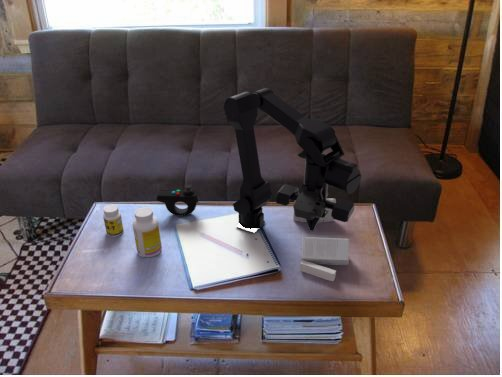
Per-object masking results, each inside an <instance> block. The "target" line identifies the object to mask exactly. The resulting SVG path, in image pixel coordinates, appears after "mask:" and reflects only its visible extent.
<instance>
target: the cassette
mask: <svg viewBox="0 0 502 377" xmlns="http://www.w3.org/2000/svg"><path fill="white" fill-rule="evenodd" d="M327 199H330V200H331V202H333V203H336V202H337V200H336V198H332V197H331V198H330V197H329V198H328V197H327ZM294 203H295V201H294V202H293V204H294ZM331 213H332V211H329V212H328V213H327V215H326V216H325V217H324V218H320V219H319V221H318V223H328V222H330V223H331V222H334V221H335V219H333V217H332V216H331ZM292 220H293V222H300V223H307V220H306V219H304V218H301V217H296V216H295V214H294V213H293V219H292Z"/></svg>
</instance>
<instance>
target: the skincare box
mask: <svg viewBox="0 0 502 377" xmlns="http://www.w3.org/2000/svg"><path fill="white" fill-rule="evenodd" d="M349 253H350V239H349V238H335V237H334V238H333V237H313V236H311V237H310V236H307V237H306V236H302V239H301V261H302V260H305V261H308V262H311V263H314V264H317V265H331V266H332V265H334V266H349V260H350V259H349V257H350V255H349Z"/></svg>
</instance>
